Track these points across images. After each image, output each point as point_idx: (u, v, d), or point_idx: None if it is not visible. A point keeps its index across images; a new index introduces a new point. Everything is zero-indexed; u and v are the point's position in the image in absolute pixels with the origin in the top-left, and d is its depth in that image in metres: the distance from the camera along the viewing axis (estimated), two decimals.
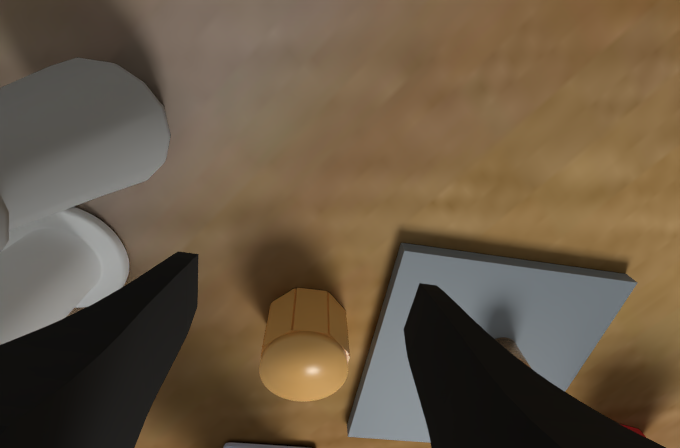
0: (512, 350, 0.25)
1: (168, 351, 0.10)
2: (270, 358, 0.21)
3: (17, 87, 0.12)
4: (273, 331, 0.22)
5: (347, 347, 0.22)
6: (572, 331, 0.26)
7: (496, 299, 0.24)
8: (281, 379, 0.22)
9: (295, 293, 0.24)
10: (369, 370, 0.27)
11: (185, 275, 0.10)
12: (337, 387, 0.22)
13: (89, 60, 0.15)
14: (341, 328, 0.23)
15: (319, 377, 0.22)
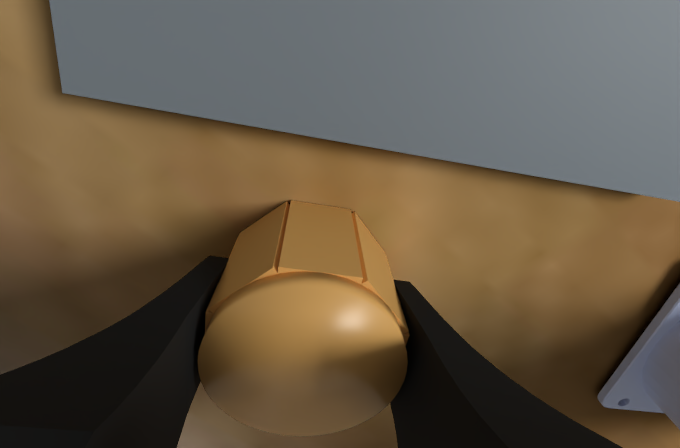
0: None
1: None
2: (263, 421, 0.10)
3: None
4: None
5: (269, 261, 0.09)
6: None
7: None
8: (327, 406, 0.10)
9: None
10: (448, 156, 0.10)
11: (219, 280, 0.10)
12: (365, 308, 0.08)
13: None
14: (259, 248, 0.10)
15: (325, 344, 0.09)
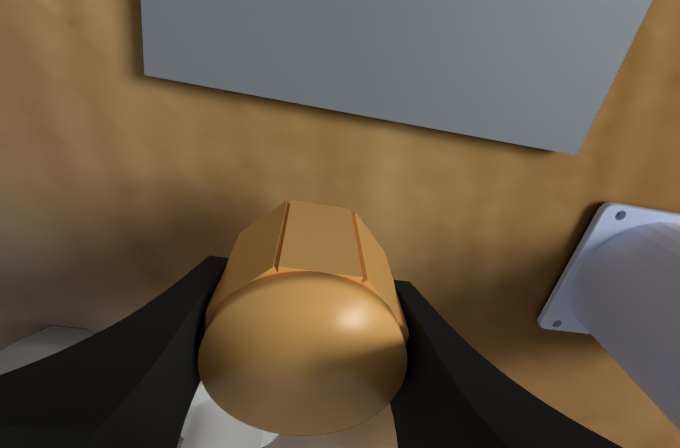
0: None
1: None
2: (263, 420, 0.10)
3: None
4: None
5: (269, 261, 0.09)
6: None
7: None
8: (327, 405, 0.10)
9: None
10: (408, 121, 0.15)
11: (219, 280, 0.10)
12: (365, 307, 0.08)
13: None
14: (259, 248, 0.10)
15: (325, 343, 0.09)
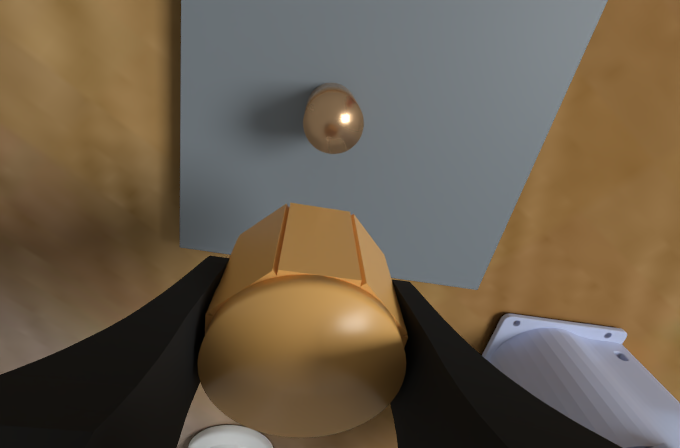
0: None
1: None
2: (263, 423, 0.10)
3: None
4: None
5: (268, 264, 0.09)
6: None
7: (238, 131, 0.18)
8: (327, 408, 0.10)
9: None
10: None
11: (219, 280, 0.10)
12: (363, 310, 0.08)
13: None
14: (258, 251, 0.10)
15: (324, 346, 0.09)
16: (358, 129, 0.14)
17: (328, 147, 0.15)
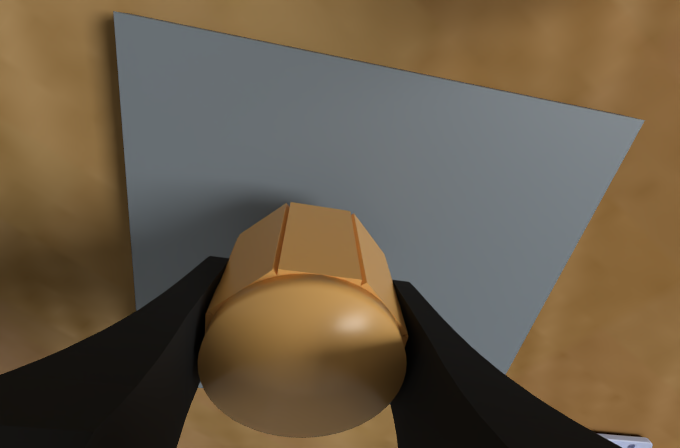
0: None
1: None
2: (263, 422, 0.10)
3: None
4: None
5: (269, 264, 0.09)
6: (262, 120, 0.12)
7: None
8: (327, 407, 0.10)
9: None
10: None
11: (219, 280, 0.10)
12: (364, 310, 0.08)
13: None
14: (258, 250, 0.10)
15: (324, 345, 0.09)
16: None
17: None
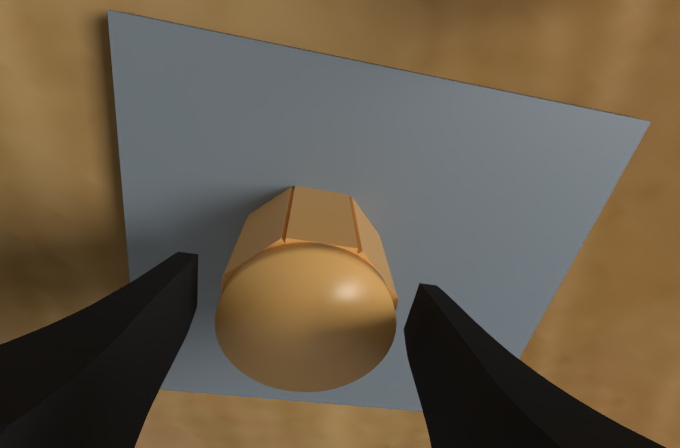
0: None
1: (167, 351, 0.10)
2: (270, 377, 0.11)
3: None
4: None
5: (277, 234, 0.10)
6: (260, 121, 0.12)
7: (199, 274, 0.15)
8: (326, 364, 0.11)
9: None
10: (347, 403, 0.19)
11: (185, 275, 0.10)
12: (359, 273, 0.10)
13: None
14: (267, 225, 0.11)
15: (325, 305, 0.10)
16: None
17: None
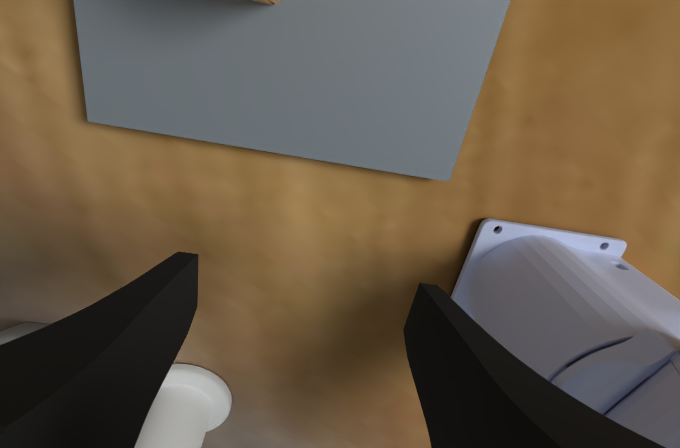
0: None
1: (167, 351, 0.10)
2: None
3: None
4: None
5: None
6: None
7: None
8: None
9: None
10: (305, 155, 0.18)
11: (184, 275, 0.10)
12: None
13: None
14: None
15: None
16: None
17: None
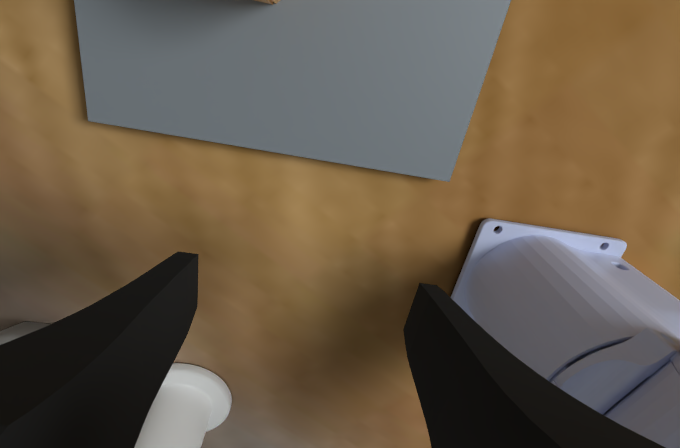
0: None
1: (167, 351, 0.10)
2: None
3: None
4: None
5: None
6: None
7: None
8: None
9: None
10: (305, 155, 0.18)
11: (185, 275, 0.10)
12: None
13: None
14: None
15: None
16: None
17: None
